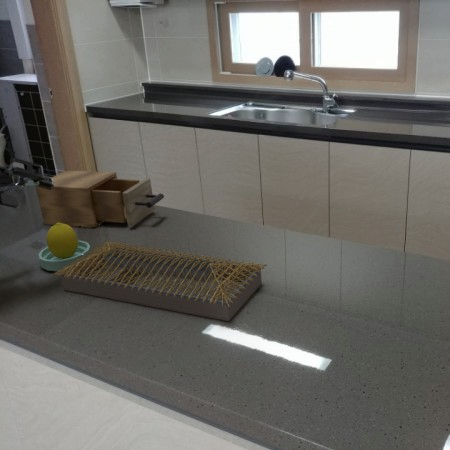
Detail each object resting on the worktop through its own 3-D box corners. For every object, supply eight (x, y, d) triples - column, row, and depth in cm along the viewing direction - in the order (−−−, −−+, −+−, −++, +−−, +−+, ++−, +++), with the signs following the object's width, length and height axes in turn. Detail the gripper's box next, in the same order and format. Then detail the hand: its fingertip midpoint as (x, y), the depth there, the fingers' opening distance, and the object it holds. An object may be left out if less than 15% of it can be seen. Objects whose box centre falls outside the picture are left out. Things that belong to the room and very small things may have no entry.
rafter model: (56, 291, 96) (49, 260, 93) (109, 256, 108) (104, 228, 106) (230, 325, 84) (227, 291, 81) (268, 281, 96) (266, 251, 94)
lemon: (87, 256, 107) (79, 220, 104) (63, 268, 103) (54, 230, 100) (69, 251, 110) (61, 215, 107) (45, 262, 106) (36, 225, 103)
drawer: (170, 210, 128) (166, 179, 125) (149, 227, 119) (144, 194, 116) (109, 206, 132) (103, 176, 129) (83, 222, 123) (77, 190, 120)
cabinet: (122, 209, 132) (116, 172, 129) (95, 228, 122) (87, 188, 118) (74, 206, 136) (67, 170, 132) (44, 224, 125) (35, 185, 122)
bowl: (30, 270, 104) (27, 259, 103) (61, 249, 112) (59, 238, 111) (73, 274, 101) (70, 262, 100) (101, 253, 110) (99, 242, 109)
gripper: (-19, 131, 83) (60, 160, 98) (-84, 168, 86) (2, 189, 102) (-12, 175, 81) (68, 197, 96) (-79, 210, 84) (8, 226, 100)
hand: (34, 193), depth 99 cm, fingers open, 8 cm apart
